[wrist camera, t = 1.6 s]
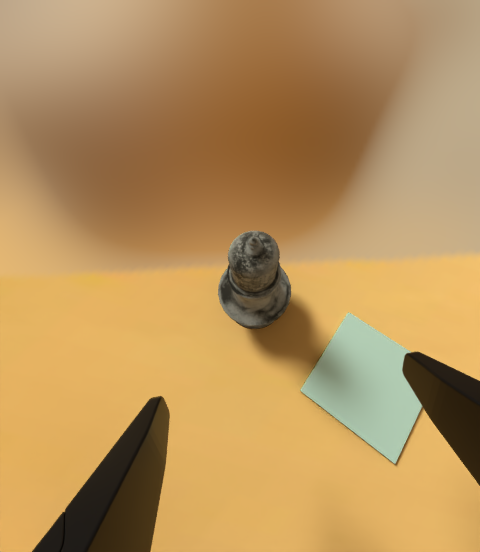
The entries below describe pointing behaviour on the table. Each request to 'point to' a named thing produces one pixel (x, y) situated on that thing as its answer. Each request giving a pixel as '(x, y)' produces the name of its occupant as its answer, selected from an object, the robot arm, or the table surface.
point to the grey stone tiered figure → (254, 281)
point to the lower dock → (365, 386)
